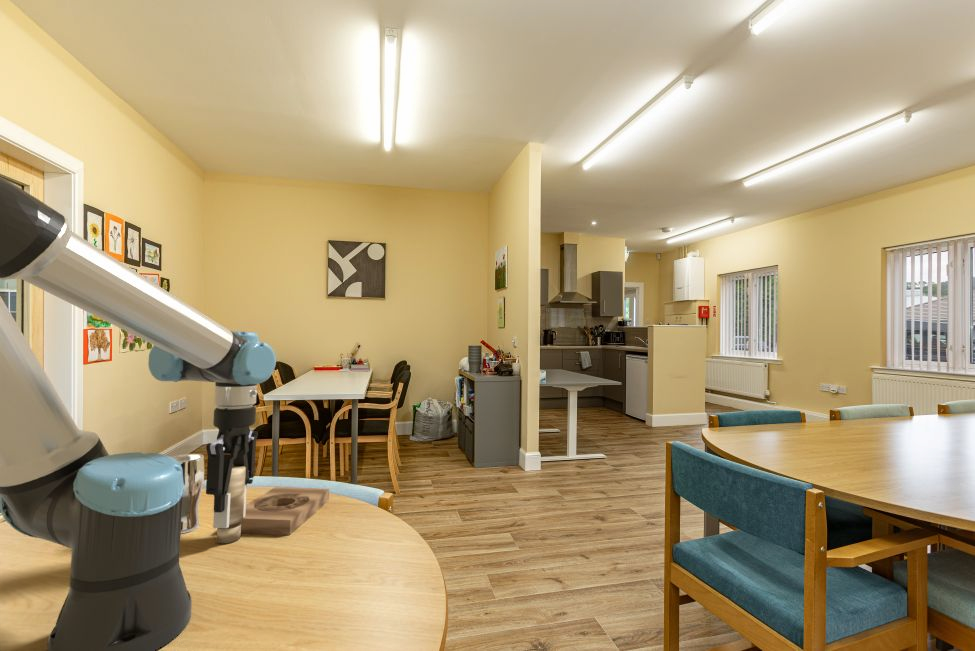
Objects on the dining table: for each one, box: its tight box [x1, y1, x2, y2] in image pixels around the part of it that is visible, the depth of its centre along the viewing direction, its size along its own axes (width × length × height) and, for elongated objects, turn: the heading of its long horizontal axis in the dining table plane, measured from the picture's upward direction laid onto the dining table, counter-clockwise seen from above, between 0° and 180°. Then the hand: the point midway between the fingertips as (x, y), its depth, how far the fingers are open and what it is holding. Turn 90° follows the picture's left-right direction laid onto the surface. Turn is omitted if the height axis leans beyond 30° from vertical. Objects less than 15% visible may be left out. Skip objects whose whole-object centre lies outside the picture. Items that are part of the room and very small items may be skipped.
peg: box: [216, 466, 246, 544], centre depth 89 cm, size 5×5×14 cm
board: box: [241, 486, 330, 536], centre depth 102 cm, size 20×14×3 cm
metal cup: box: [171, 453, 205, 535], centre depth 94 cm, size 7×7×15 cm
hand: (229, 521), depth 89 cm, fingers closed on peg, 5 cm apart
